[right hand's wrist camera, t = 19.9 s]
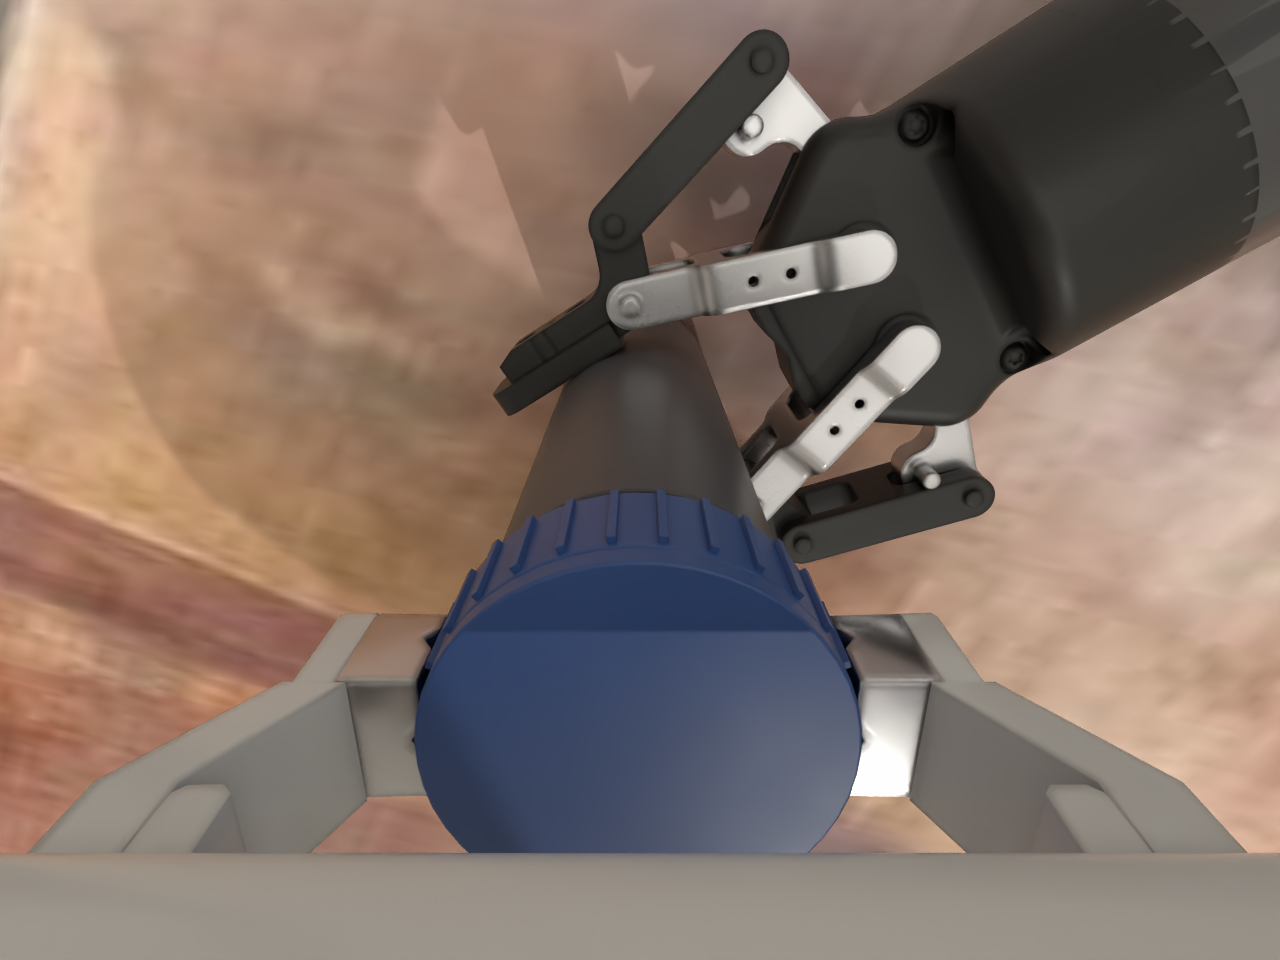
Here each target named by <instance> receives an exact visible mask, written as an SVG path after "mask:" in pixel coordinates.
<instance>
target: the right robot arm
mask: <svg viewBox="0 0 1280 960" xmlns="http://www.w3.org/2000/svg"><path fill="white" fill-rule="evenodd" d="M447 616H448V615H430V614H378V613H349V614H344V615H341V616H340V617H339V618H338V619H337V620H336V622H335V623H334V624H333V626H332V627H331V629H330V630H329V631H328V633H327V634H326V636H325V637H324V638H323V640H322V641H321V643H320V644H319V645H318V647H317V648H316V650H315V651H314V652H313V654H312V655H311V657H310V658H309V659H308V661H307V662H306V664H305V665H304V666H303V668H302V669H301V670H300V672H299V673H298V675H297V676H296V677H295V679H294V680H293V682H280V683H278V684H276V685H275V686H273V687H271V688H269V689H267V690H265V691H263V692H261V693H260V694H258V695H256V696H254V697H252V698H250V699H248V700H246V701H245V702H243V703H241V704H239V705H237V706H235V707H233V708H231V709H229V710H228V711H226V712H224V713H222V714H220V715H218V716H216V717H214V718H213V719H211V720H209V721H207V722H205V723H203V724H201V725H199V726H197V727H196V728H194V729H192V730H190V731H188V732H186V733H184V734H182V735H181V736H179V737H177V738H175V739H173V740H171V741H169V742H167V743H165V744H164V745H162V746H160V747H158V748H156V749H154V750H152V751H150V752H149V753H147V754H145V755H143V756H141V757H139V758H137V759H135V760H133V761H132V762H130V763H128V764H126V765H124V766H122V767H120V768H118V769H117V770H115V771H113V772H111V773H109V774H107V775H105V776H103V777H101V778H100V779H98V780H96V781H94V782H93V783H92V784H91V785H90V786H89V787H88V789H87V790H86V791H85V792H84V793H83V794H82V795H81V796H80V797H79V798H78V799H77V800H76V801H75V802H74V804H73V805H72V806H71V807H70V808H69V809H68V810H67V811H66V812H65V813H64V814H63V815H62V816H61V818H60V819H59V820H58V821H57V822H56V823H55V824H54V825H53V826H52V827H51V828H50V829H49V830H48V832H47V833H46V834H45V835H44V836H43V837H42V838H41V839H40V840H39V841H38V842H37V843H36V844H35V845H34V847H33V848H32V849H31V850H30V851H29V852H28V853H0V960H1280V853H1247V852H1246V851H1245V849H1244V848H1243V847H1242V846H1241V845H1240V844H1239V843H1238V842H1237V841H1236V840H1235V839H1234V837H1233V836H1232V835H1231V834H1230V833H1229V832H1228V831H1227V830H1226V829H1225V828H1224V827H1223V825H1222V824H1221V823H1220V822H1219V821H1218V820H1217V819H1216V818H1215V817H1214V816H1213V815H1212V813H1211V812H1210V811H1209V810H1208V809H1207V808H1206V807H1205V806H1204V805H1203V804H1202V803H1201V801H1200V800H1199V799H1198V798H1197V797H1196V796H1195V795H1194V794H1193V793H1192V792H1191V791H1190V789H1189V788H1188V787H1187V786H1186V785H1185V784H1184V783H1183V782H1181V781H1179V780H1177V779H1176V778H1174V777H1172V776H1170V775H1168V774H1166V773H1164V772H1163V771H1161V770H1159V769H1157V768H1155V767H1153V766H1151V765H1149V764H1148V763H1146V762H1144V761H1142V760H1140V759H1138V758H1136V757H1134V756H1133V755H1131V754H1129V753H1127V752H1125V751H1123V750H1121V749H1120V748H1118V747H1116V746H1114V745H1112V744H1110V743H1108V742H1106V741H1105V740H1103V739H1101V738H1099V737H1097V736H1095V735H1093V734H1092V733H1090V732H1088V731H1086V730H1084V729H1082V728H1080V727H1078V726H1077V725H1075V724H1073V723H1071V722H1069V721H1067V720H1065V719H1064V718H1062V717H1060V716H1058V715H1056V714H1054V713H1052V712H1050V711H1049V710H1047V709H1045V708H1043V707H1041V706H1039V705H1037V704H1035V703H1034V702H1032V701H1030V700H1028V699H1026V698H1024V697H1022V696H1021V695H1019V694H1017V693H1015V692H1013V691H1011V690H1009V689H1007V688H1006V687H1004V686H1002V685H1000V684H998V683H996V682H984V681H983V680H982V678H981V677H980V675H979V674H978V673H977V671H976V670H975V668H974V667H973V666H972V664H971V663H970V661H969V660H968V659H967V657H966V656H965V654H964V653H963V652H962V650H961V649H960V647H959V646H958V645H957V643H956V642H955V640H954V639H953V638H952V636H951V635H950V633H949V632H948V631H947V629H946V628H945V626H944V625H943V624H942V622H941V621H940V619H939V618H938V617H937V616H936V615H934V614H932V613H912V614H888V615H849V616H830V618H831V620H832V622H833V624H834V627H835V629H836V631H837V633H838V636H839V638H840V640H841V642H842V645H843V647H844V649H845V651H846V654H847V656H848V658H849V660H850V663H851V667H850V668H847V669H846V670H847V673H848V675H849V677H850V680H851V682H852V686H853V689H854V692H855V695H856V698H857V701H858V704H859V710H860V717H861V724H862V752H861V757H860V763H859V768H858V773H857V777H856V780H855V783H854V786H853V788H852V791H851V794H850V795H853V796H890V797H910V801H911V802H912V803H914V804H915V805H916V806H917V807H918V808H919V809H920V810H921V811H922V812H923V813H924V814H925V815H926V816H928V817H929V818H930V819H931V820H932V821H933V822H934V823H935V824H936V825H937V826H938V827H939V828H940V829H942V830H943V831H944V832H945V833H946V834H947V835H948V836H949V837H950V838H951V839H952V840H953V841H954V842H956V843H957V844H958V845H959V846H960V847H961V848H962V849H963V850H964V851H965V852H966V853H311V852H312V851H313V850H314V849H315V848H316V847H317V846H318V845H319V844H320V843H321V842H322V841H324V840H325V839H326V838H327V837H328V836H329V835H330V834H331V833H332V832H333V831H334V830H335V829H337V828H338V827H339V826H340V825H341V824H342V823H343V822H344V821H345V820H346V819H347V818H348V817H350V816H351V815H352V814H353V813H354V812H355V811H356V810H357V809H358V808H359V807H360V806H361V805H363V804H364V803H365V802H366V801H367V798H366V797H386V796H421V795H427V794H426V792H425V790H424V787H423V784H422V780H421V777H420V773H419V770H418V766H417V760H416V751H415V742H414V736H415V719H416V713H417V708H418V704H419V700H420V695H421V692H422V690H423V687H424V685H425V682H426V680H427V677H428V675H429V673H430V670H429V669H426V668H425V665H426V662H427V660H428V658H429V655H430V653H431V651H432V649H433V647H434V644H435V642H436V640H437V638H438V636H439V633H440V631H441V629H442V627H443V625H444V622H445V620H446V618H447Z"/></svg>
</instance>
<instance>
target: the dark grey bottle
mask: <svg viewBox="0 0 1280 960" xmlns="http://www.w3.org/2000/svg"><path fill="white" fill-rule="evenodd" d="M616 489H619V493H620V494H623V493H656V491H657V489H661V490H665V495H672V496H678V497H685V498H688V499H692V500H696V501H699V502H700V501H701V498H706V499H709V500H710V505H712V506H715V507H717V508H720V509H722V510H724V511H727V512H729V513H732V514H734V515H736V516H737V517H739V518H741V516H742V515H743V514H744V515H746V516H748V517H749V518H750V520H751V523H752V525H753V526H755V527H756V528H758V529H759V530H760V531H761V532H763V533H764V534H765V535H767V536H768V537H769V538H770V539H772V540H773V541H774V538H773V536H772V533H771V530H770V528H769V525H768V523H767V520H766V517H765V515H764V512H763V510H762V507H761V504H760V502H759V499H758V497H757V494H756V491H755V489H754V486H753V483H752V481H751V478H750V476H749V473H748V470H747V468H746V465H745V463H744V460H743V457H742V455H741V452H740V450H739V447H738V444H737V442H736V439H735V437H734V434H733V431H732V429H731V426H730V423H729V421H728V418H727V416H726V413H725V410H724V408H723V405H722V403H721V400H720V397H719V395H718V392H717V390H716V387H715V384H714V382H713V379H712V377H711V374H710V371H709V369H708V366H707V363H706V361H705V358H704V356H703V353H702V351H701V348H700V346H699V343H698V341H697V340H696V338H695V336H694V335H693V334H692V332H691V331H690V330H689V329H688V328H687V327H686V326H685V325H684V324H683V323H682V322H681V321H680V320H677V321H673V322H668V323H664V324H659V325H654V326H650V327H645V328H640V329H636V330H631V331H630V332H628V333H626V334H625V337H624V346H623V347H622V348H620V349H619V350H617V351H615V352H614V353H612V354H611V355H609V356H607V357H606V358H604V359H602V360H601V361H599V362H597V363H595V364H594V365H592V366H590V367H589V368H587V369H586V370H584V371H583V372H581V373H580V374H578V375H577V376H575V377H573V378H572V379H570V380H569V381H567V382H565V384H564V387H563V389H562V392H561V394H560V397H559V400H558V402H557V405H556V407H555V410H554V412H553V415H552V417H551V420H550V423H549V425H548V428H547V430H546V433H545V435H544V438H543V440H542V443H541V446H540V448H539V451H538V453H537V456H536V458H535V461H534V463H533V466H532V469H531V471H530V474H529V476H528V479H527V481H526V484H525V486H524V489H523V492H522V494H521V497H520V499H519V502H518V504H517V507H516V509H515V512H514V515H513V517H512V520H511V522H510V525H509V527H508V530H507V532H506V535H505V537H504V540H505V539H507V538H508V537H509V536H510V535H511V534H513V533H514V532H516V531H517V530H519V529H520V528H521V527H523V526H524V523H525V521H526V518H528V517H529V516H531V515H533V516H534V517H535V518H538V517H540V516H542V515H544V514H546V513H548V512H550V511H552V510H554V509H557V508H560V507H562V506H565V504H566V500H568V499H571V498H574V499H575V502H577V501H580V500H585V499H589V498H594V497H599V496H603V495H610V492H611V490H616ZM504 540H503V541H504Z"/></svg>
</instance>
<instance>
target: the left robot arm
mask: <svg viewBox="0 0 1280 960" xmlns="http://www.w3.org/2000/svg"><path fill="white" fill-rule="evenodd" d="M788 66H789V51H788V48H787V45H786V43H785V42H784V40H783V39H782V38H781V36H779V35H778V34H777V33H775V32H773V31H770V30H757V31H754V32H752V33H750V34H749V35H747V36H746V37H745V38H744V39H743V40H742V41H741V43H740V44H739V45H738V46H737V47H736V48H735V49H734V50H733V52H732V53H731V54H730V55H729V56H728V57H727V58H726V60H725V61H724V62H723V63H722V64H721V65H720V66H719V67H718V69H717V70H716V71H715V72H714V73H713V74H712V75H711V77H710V78H709V79H708V80H707V81H706V82H705V83H704V84H703V86H702V87H701V88H700V89H699V90H698V91H697V92H696V94H695V95H694V96H693V97H692V98H691V99H690V100H689V101H688V103H687V104H686V105H685V106H684V107H683V108H682V109H681V111H680V112H679V113H678V114H677V115H676V116H675V117H674V118H673V120H672V121H671V122H670V123H669V124H668V125H667V126H666V128H665V129H664V130H663V131H662V132H661V133H660V134H659V135H658V137H657V138H656V139H655V140H654V141H653V142H652V143H651V145H650V146H649V147H648V148H647V149H646V150H645V151H644V152H643V154H642V155H641V156H640V157H639V158H638V159H637V160H636V161H635V163H634V164H633V165H632V166H631V167H630V168H629V169H628V171H627V172H626V173H625V174H624V175H623V176H622V177H621V178H620V180H619V181H618V182H617V183H616V184H615V185H614V186H613V188H612V189H611V190H610V191H609V192H608V193H607V194H606V195H605V197H604V198H603V199H602V200H601V201H600V202H599V203H598V205H597V206H596V207H595V208H594V209H593V211H592V213H591V215H590V218H589V232H590V235H591V238H592V240H593V243H594V248H595V252H596V257H597V262H598V266H599V272H600V280H599V285H598V287H597V288H596V290H595V291H594V292H593V293H592V294H590V295H589V296H588V297H586V298H584V299H583V300H581V301H580V302H578V303H577V304H575V305H574V306H572V307H570V308H569V309H567V310H566V311H564V312H563V313H561V314H560V315H558V316H556V317H555V318H553V319H552V320H550V321H549V322H547V323H546V324H544V325H542V326H541V327H539V328H538V329H536V330H535V331H533V332H532V333H530V334H528V335H527V336H525V337H524V338H522V339H521V340H519V341H518V343H517V344H516V345H515V346H514V348H513V349H512V350H511V351H510V353H509V354H508V356H507V357H506V359H505V360H504V362H503V363H502V365H501V366H500V368H501V370H502V371H503V373H504V374H505V375H506V377H507V378H506V379H504V380H503V381H502V382H501V384H500V385H499V386H498V388H497V389H496V391H495V392H494V393H493V396H494V397H495V398H496V400H497V401H498V403H499V404H500V405H501V407H502V408H503V410H504V411H505V412H506V414H507V415H508V416H510V415H513V414H515V413H517V412H518V411H520V410H522V409H523V408H525V407H527V406H528V405H530V404H531V403H533V402H535V401H536V400H538V399H540V398H541V397H543V396H544V395H546V394H548V393H549V392H551V391H552V390H554V389H556V388H557V387H559V386H560V385H562V384H564V383H565V382H567V381H569V380H570V379H572V378H573V377H575V376H577V375H578V374H580V373H581V372H583V371H584V370H586V369H587V368H589V367H590V366H592V365H594V364H595V363H597V362H599V361H601V360H602V359H604V358H606V357H607V356H609V355H611V354H612V353H614V352H615V351H617V350H619V349H620V348H622V347H623V346H624V337H625V334H626V333H628V332H630V331H631V330H636V329H640V328H645V327H650V326H654V325H659V324H664V323H668V322H673V321H677V320H682V319H687V318H691V317H696V316H715V315H722V314H727V313H731V312H736V311H741V310H745V309H748V311H749V312H750V314H751V316H752V318H753V320H754V321H755V322H756V323H757V324H758V325H759V326H760V328H761V329H762V330H763V331H764V332H765V333H766V334H767V335H768V336H769V337H770V338H771V339H772V340H773V341H774V344H775V348H776V352H777V357H778V361H779V365H780V368H781V370H782V372H783V374H784V375H785V377H786V379H787V381H788V383H789V384H790V386H789V387H788V388H787V389H786V390H785V391H784V393H783V394H782V395H781V396H780V397H779V398H778V399H777V400H776V401H775V403H774V404H773V405H772V406H771V408H770V409H769V411H768V412H767V414H766V418H765V420H764V422H763V423H762V425H761V426H760V427H759V428H758V429H757V430H756V432H755V433H754V434H753V435H752V436H751V437H750V438H749V439H748V440H747V442H746V443H745V444H744V445H743V446H742V447H741V448H740V449H739V450H740V452H741V455H742V457H743V460H744V463H745V465H746V468H747V470H748V473H749V476H750V478H751V481H752V483H753V486H754V489H755V491H756V494H757V497H758V499H759V502H760V504H761V507H762V510H763V512H764V515H765V517H766V520H767V523H768V525H769V528H770V530H771V533H772V536H773V538H774V541H775V540H776V539H778V538H779V539H780V540H781V541H782V542H783V543H784V546H785V548H786V551H787V553H788V556H789V557H790V558H791V559H792V560H793V562H794V563H800V564H802V563H808V562H812V561H816V560H819V559H823V558H827V557H830V556H834V555H838V554H841V553H845V552H849V551H852V550H856V549H860V548H863V547H867V546H871V545H874V544H878V543H882V542H885V541H889V540H892V539H896V538H900V537H903V536H907V535H911V534H914V533H918V532H922V531H925V530H929V529H933V528H936V527H940V526H944V525H947V524H951V523H955V522H958V521H962V520H966V519H969V518H973V517H976V516H979V515H981V514H983V513H984V512H986V511H987V510H988V509H989V508H990V507H991V505H992V503H993V501H994V498H995V490H994V487H993V486H992V484H991V483H990V482H989V481H988V480H987V479H985V478H984V477H983V476H982V475H981V474H980V473H979V471H978V470H977V468H976V463H975V457H974V450H973V444H972V437H971V431H970V424H969V418H970V417H971V416H973V415H974V414H975V413H976V412H977V411H978V410H979V409H980V408H981V407H982V406H983V404H984V403H985V402H986V400H987V399H988V398H989V396H990V395H991V394H992V393H993V391H994V390H995V389H996V388H997V387H998V386H999V385H1000V384H1002V383H1003V382H1004V381H1005V380H1006V379H1008V378H1009V377H1010V376H1012V375H1014V374H1016V373H1018V372H1020V371H1022V370H1025V369H1027V368H1030V367H1032V366H1035V365H1038V364H1040V363H1043V362H1045V361H1048V360H1050V359H1052V358H1055V357H1057V356H1059V355H1061V354H1063V353H1065V352H1067V351H1068V350H1070V349H1072V348H1074V347H1076V346H1078V345H1079V344H1081V343H1083V342H1085V341H1087V340H1089V339H1090V338H1092V337H1094V336H1096V335H1098V334H1100V333H1102V332H1103V331H1105V330H1107V329H1109V328H1111V327H1113V326H1114V325H1116V324H1118V323H1120V322H1122V321H1124V320H1125V319H1127V318H1129V317H1131V316H1133V315H1135V314H1137V313H1138V312H1140V311H1142V310H1144V309H1146V308H1148V307H1149V306H1151V305H1153V304H1155V303H1157V302H1159V301H1161V300H1162V299H1164V298H1166V297H1168V296H1170V295H1172V294H1173V293H1175V292H1177V291H1179V290H1181V289H1182V288H1184V287H1186V286H1188V285H1190V284H1192V283H1193V282H1195V281H1197V280H1199V279H1201V278H1203V277H1204V276H1206V275H1208V274H1210V273H1212V272H1214V271H1216V270H1217V269H1219V268H1221V267H1223V266H1225V265H1226V264H1228V263H1230V262H1232V261H1234V260H1236V259H1238V258H1239V257H1241V256H1243V255H1245V254H1247V253H1249V252H1251V251H1252V250H1254V249H1256V248H1258V247H1260V246H1262V245H1264V244H1265V243H1267V242H1269V241H1271V240H1273V239H1275V238H1277V237H1278V236H1280V0H1053V1H1052V2H1050V3H1049V4H1047V5H1046V6H1044V7H1043V8H1041V9H1039V10H1038V11H1036V12H1035V13H1033V14H1032V15H1030V16H1029V17H1027V18H1025V19H1024V20H1023V21H1021V22H1019V23H1018V24H1016V25H1015V26H1013V27H1012V28H1010V29H1009V30H1007V31H1005V32H1004V33H1002V34H1001V35H999V36H998V37H996V38H995V39H993V40H991V41H990V42H988V43H987V44H985V45H984V46H982V47H981V48H979V49H977V50H976V51H974V52H973V53H971V54H970V55H968V56H967V57H965V58H963V59H962V60H960V61H959V62H957V63H956V64H954V65H953V66H951V67H949V68H948V69H946V70H945V71H943V72H942V73H940V74H939V75H937V76H935V77H934V78H932V79H931V80H929V81H928V82H926V83H925V84H923V85H921V86H920V87H918V88H917V89H915V90H914V91H912V92H911V93H909V94H907V95H906V96H904V97H903V98H901V99H900V100H898V101H897V102H895V103H893V104H892V105H890V106H889V107H887V108H885V109H883V110H881V111H880V112H878V113H876V114H874V115H869V116H861V117H843V118H839V119H836V120H833V121H830V120H829V119H828V117H827V116H826V115H825V114H824V113H823V111H822V110H821V109H820V108H819V107H818V105H817V104H816V103H815V102H814V101H813V99H812V98H811V97H810V96H809V95H808V93H807V92H806V91H805V90H804V89H803V88H802V86H801V85H800V84H799V83H798V82H797V80H796V79H795V78H794V77H793V76H792V74H791V73H790V72H789V71H788ZM771 144H781V145H784V146H786V147H788V148H789V149H791V150H792V151H793V152H794V153H793V155H792V157H791V159H790V162H789V164H788V166H787V168H786V171H785V173H784V175H783V177H782V180H781V182H780V184H779V186H778V188H777V191H776V193H775V195H774V197H773V200H772V202H771V204H770V206H769V209H768V211H767V213H766V215H765V218H764V220H763V222H762V224H761V227H760V229H759V231H758V233H757V236H756V238H755V240H754V241H751V242H747V243H742V244H738V245H733V246H729V247H724V248H720V249H715V250H711V251H706V252H702V253H698V254H695V255H692V256H689V257H686V258H683V259H679V260H674V261H670V262H665V263H661V264H656V265H652V266H648V263H647V257H646V252H645V247H644V242H643V237H642V233H643V232H644V231H645V230H646V229H647V227H648V226H649V225H650V224H651V223H652V222H653V221H654V220H655V219H656V218H657V217H658V215H659V214H660V213H661V212H662V211H663V210H664V209H665V208H666V207H667V206H668V205H669V203H670V202H671V201H672V200H673V199H674V198H675V197H676V196H677V195H678V194H679V193H680V191H681V190H682V189H683V188H684V187H685V186H686V185H687V184H688V183H689V182H690V181H691V179H692V178H693V177H694V176H695V175H696V174H697V173H698V172H699V171H700V170H701V169H702V168H703V166H704V165H705V164H706V163H707V162H708V161H709V160H710V159H711V158H712V157H713V156H714V154H715V153H716V152H717V151H718V150H719V149H720V148H721V147H723V148H724V149H725V150H726V151H727V152H728V153H729V154H731V155H732V156H735V157H739V158H746V157H750V156H753V155H756V154H758V153H760V152H761V151H763V150H764V149H765V148H766V147H768V146H769V145H771ZM872 422H880V423H895V424H909V425H923V427H922V429H921V431H920V433H919V434H918V435H917V436H916V437H915V438H914V439H913V440H911V441H909V442H907V443H905V444H903V445H901V446H899V447H898V448H897V449H896V451H895V452H894V454H893V456H892V459H891V462H888V463H885V464H881V465H878V466H874V467H871V468H867V469H864V470H860V471H857V472H853V473H850V474H846V475H843V476H839V477H836V478H832V479H829V480H825V481H822V482H818V483H815V484H811V485H808V486H804V487H801V488H799V487H800V486H801V485H802V484H803V483H804V482H805V481H806V480H807V479H808V478H809V477H811V476H812V475H818V474H821V473H823V472H824V471H826V470H827V469H828V468H829V467H830V466H831V465H832V464H833V463H834V462H835V461H836V460H837V459H838V458H839V457H840V456H841V455H842V454H843V453H844V452H845V451H846V450H847V448H848V447H849V446H850V445H851V444H852V443H853V442H854V441H855V440H856V439H857V438H858V437H859V436H860V435H861V434H862V433H863V432H864V431H865V430H866V429H867V428H868V427H869V426H870V424H871V423H872ZM833 426H834V427H833ZM831 427H833V428H832V429H831Z"/></svg>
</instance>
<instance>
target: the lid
mask: <svg viewBox="0 0 1280 960" xmlns="http://www.w3.org/2000/svg"><path fill="white" fill-rule="evenodd" d="M850 667H851V663H850V660H849V658H848V656H847V654H846V651H845V649H844V647H843V645H842V642H841V640H840V638H839V636H838V633H837V631H836V629H835V627H834V624H833V622H832V620H831V618H830V615H829V613H828V611H827V609H826V606H825V604H824V602H823V601H822V602H821V600H820V597H819V595H818V593H817V591H816V588H815V586H814V584H813V581H812V579H811V577H810V575H809V573H808V571H807V570H806V568H804V569H802V570H799V569H798V567H797V566H796V565H795V563H794V562H793V560H792V559H791V558H790V557H789V556H788V553H787V551H786V548H785V546H784V543H783V542H782V541H781V540H780V539H779V538H778V539H776V540H775V541H773V540H772V539H770V538H769V537H768V536H767V535H765V534H764V533H763V532H761V531H760V530H759V529H758V528H756V527H755V526H753V525H752V523H751V520H750V518H749V517H748V516H746V515H744V514H743V515H742V516H741V518H739V517H737V516H736V515H734V514H732V513H729V512H727V511H724V510H722V509H720V508H717V507H715V506H712V505H710V500H709V499H706V498H701V501H700V502H699V501H696V500H692V499H688V498H685V497H678V496H672V495H665V490H661V489H657V491H656V493H623V494H620V493H619V489H616V490H611V492H610V495H603V496H599V497H594V498H589V499H585V500H580V501H577V502H575V499H574V498H571V499H568V500H566V504H565V506H562V507H560V508H557V509H554V510H552V511H550V512H548V513H546V514H544V515H542V516H540V517H538V518H535V517H534V516H533V515H531V516H529V517H528V518H526V521H525V523H524V526H523V527H521V528H520V529H519V530H517V531H516V532H514V533H513V534H511V535H510V536H509V537H508V538H507V539H505V540H504V541H503V542H501V541H500V540H499V539H497V540H496V541H495V542H494V543H493V545H492V547H491V549H490V552H489V554H488V557H487V559H486V560H485V561H484V562H483V563H482V565H481V566H480V567H479V568H478V570H477V571H475V570H473V569H471V570H470V571H469V573H468V574H467V577H466V579H465V581H464V583H463V586H462V588H461V590H460V592H459V594H458V597H457V599H456V601H455V602H454V603H453V605H452V607H451V609H450V611H449V614H448V616H447V618H446V620H445V622H444V625H443V627H442V629H441V631H440V633H439V636H438V638H437V640H436V642H435V644H434V647H433V649H432V651H431V653H430V655H429V658H428V660H427V662H426V665H425V668H426V669H429V670H430V673H429V675H428V677H427V680H426V682H425V685H424V687H423V690H422V692H421V695H420V700H419V704H418V708H417V713H416V719H415V736H414V742H415V751H416V760H417V766H418V770H419V773H420V777H421V780H422V784H423V787H424V790H425V792H426V794H427V796H428V798H429V801H430V803H431V805H432V807H433V809H434V811H435V812H436V814H437V815H438V817H439V818H440V820H441V821H442V823H443V825H444V826H445V828H446V829H447V830H448V831H449V832H450V833H451V835H452V836H453V837H454V838H455V839H456V841H457V842H458V843H459V844H460V845H461V846H462V847H463V848H464V849H465V850H466V851H467V852H468V853H809V852H810V851H811V850H812V849H813V848H814V847H815V846H816V845H817V844H818V843H819V841H820V840H821V839H822V838H823V837H824V836H825V835H826V834H827V832H828V831H829V830H830V828H831V827H832V825H833V824H834V823H835V821H836V820H837V819H838V817H839V815H840V814H841V812H842V810H843V808H844V806H845V804H846V802H847V801H848V799H849V797H850V794H851V791H852V788H853V786H854V783H855V780H856V777H857V773H858V768H859V763H860V757H861V752H862V724H861V717H860V710H859V704H858V701H857V698H856V695H855V692H854V689H853V686H852V682H851V680H850V677H849V675H848V673H847V670H846V669H847V668H850Z"/></svg>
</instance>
